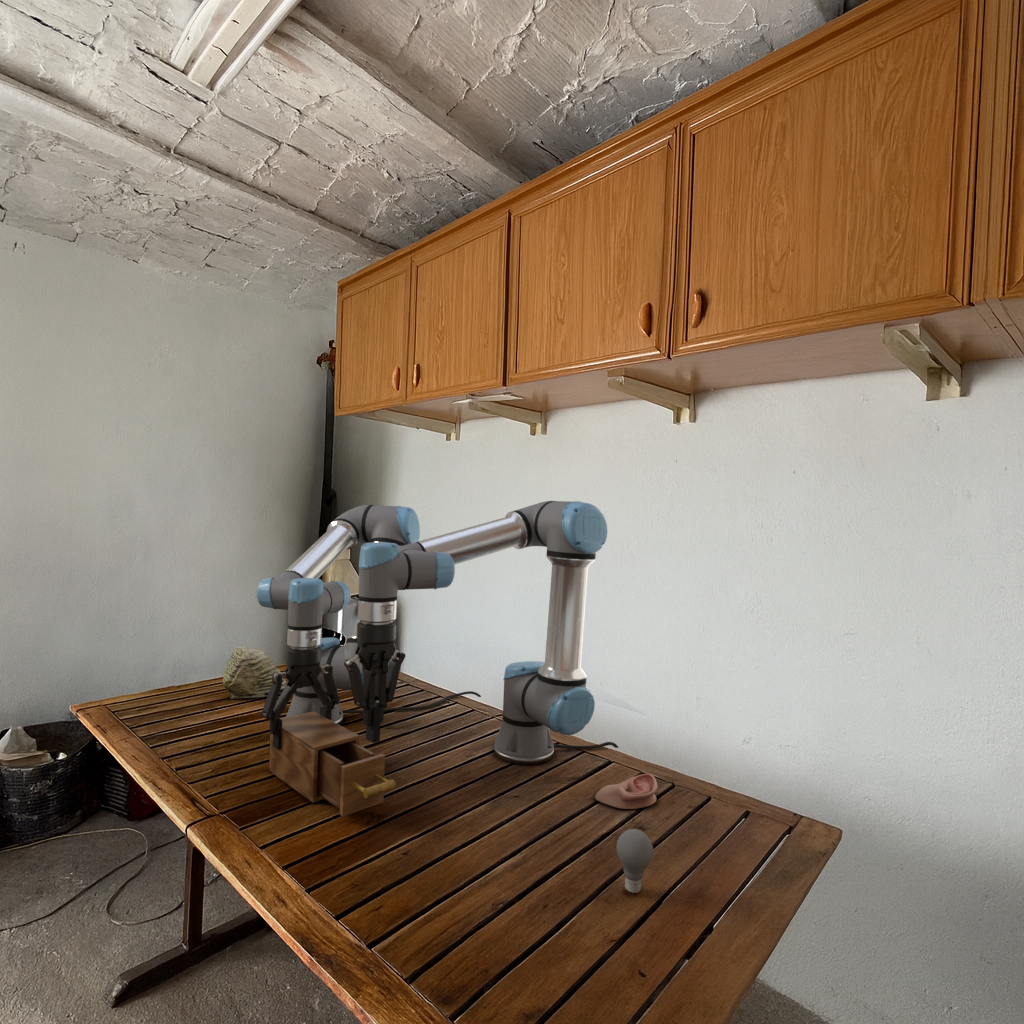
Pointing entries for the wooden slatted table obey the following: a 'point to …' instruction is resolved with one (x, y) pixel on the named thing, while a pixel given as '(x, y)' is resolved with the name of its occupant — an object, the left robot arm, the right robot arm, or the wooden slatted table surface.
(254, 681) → the fossil
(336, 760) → the drawer
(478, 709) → the wooden slatted table surface
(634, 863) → the light bulb
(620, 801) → the anatomical model
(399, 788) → the wooden slatted table surface
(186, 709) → the wooden slatted table surface
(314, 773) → the cabinet
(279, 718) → the left robot arm
